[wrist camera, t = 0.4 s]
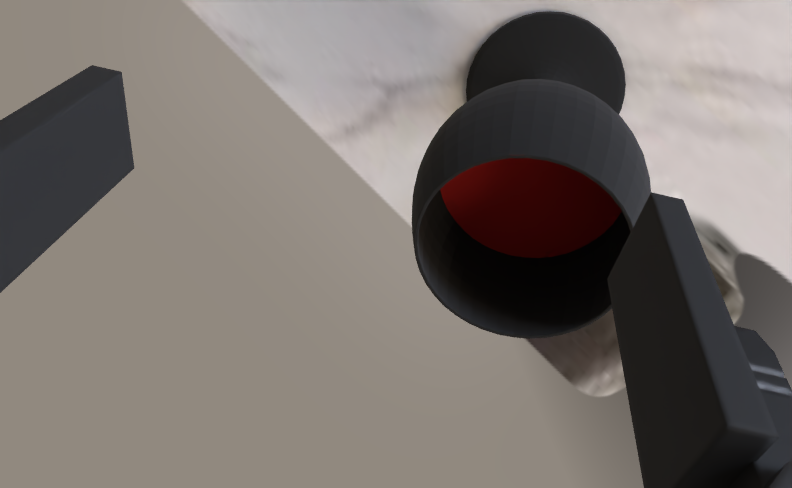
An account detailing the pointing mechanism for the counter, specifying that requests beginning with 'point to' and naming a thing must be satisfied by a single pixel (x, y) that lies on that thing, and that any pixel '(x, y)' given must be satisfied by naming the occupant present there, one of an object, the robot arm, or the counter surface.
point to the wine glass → (531, 182)
